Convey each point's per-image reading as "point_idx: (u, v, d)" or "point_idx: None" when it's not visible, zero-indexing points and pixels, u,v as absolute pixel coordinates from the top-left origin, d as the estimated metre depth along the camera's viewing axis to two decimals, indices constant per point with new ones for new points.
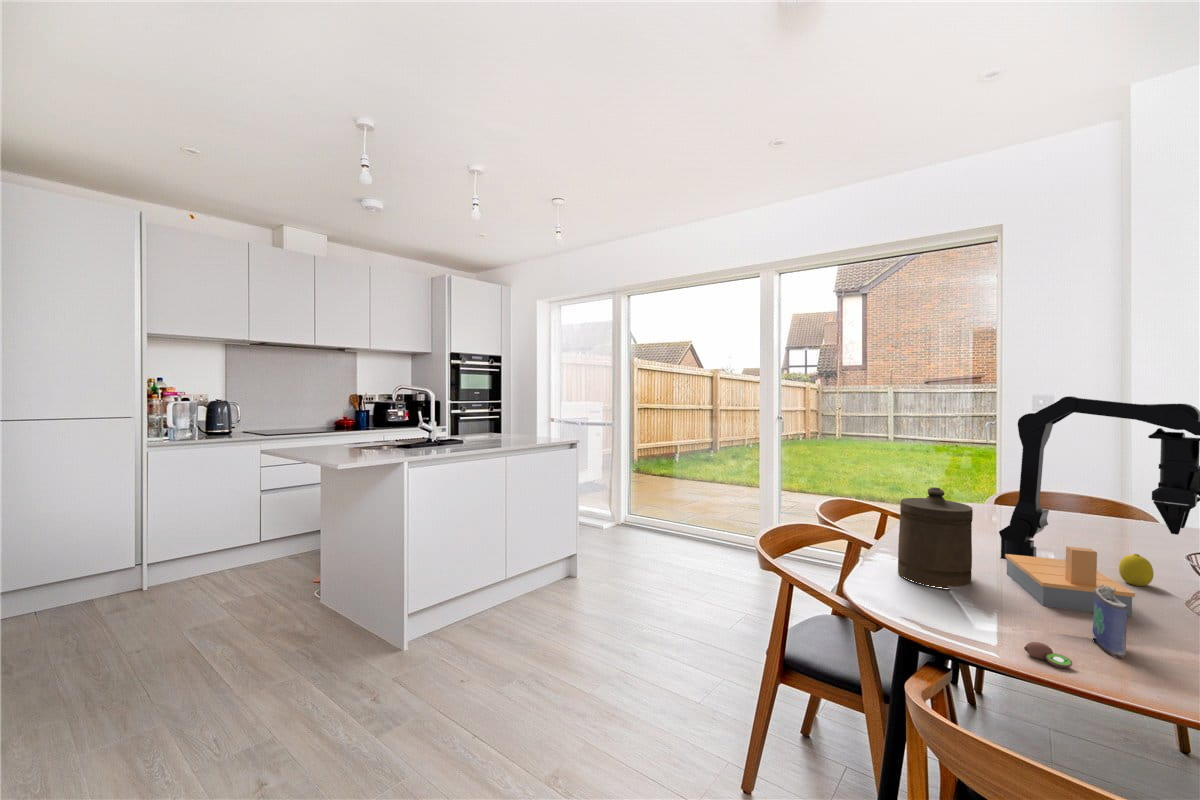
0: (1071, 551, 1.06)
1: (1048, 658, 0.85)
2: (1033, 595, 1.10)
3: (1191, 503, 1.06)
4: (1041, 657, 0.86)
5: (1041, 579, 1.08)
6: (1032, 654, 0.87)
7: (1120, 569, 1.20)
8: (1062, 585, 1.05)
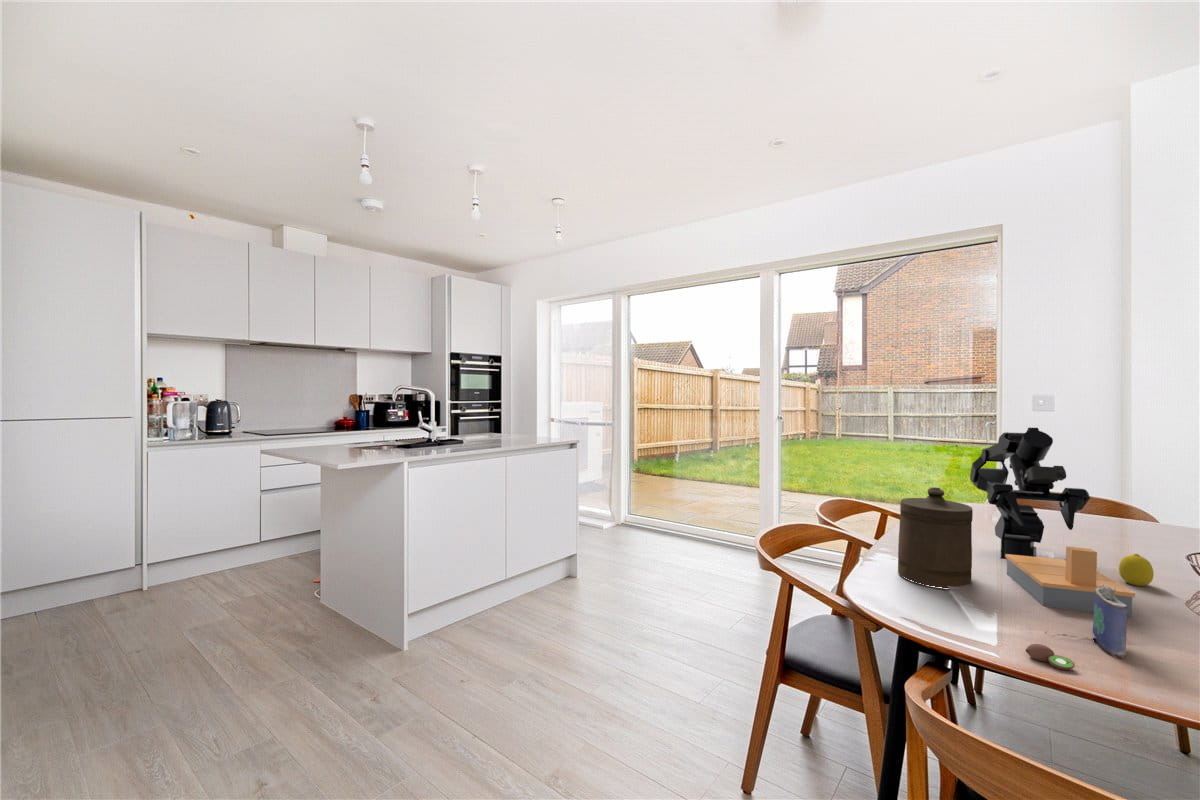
0: (1071, 551, 1.06)
1: (1050, 660, 0.84)
2: (1033, 595, 1.10)
3: (994, 490, 1.27)
4: (1043, 659, 0.85)
5: (1041, 579, 1.08)
6: (1034, 656, 0.86)
7: (1120, 569, 1.20)
8: (1062, 585, 1.05)
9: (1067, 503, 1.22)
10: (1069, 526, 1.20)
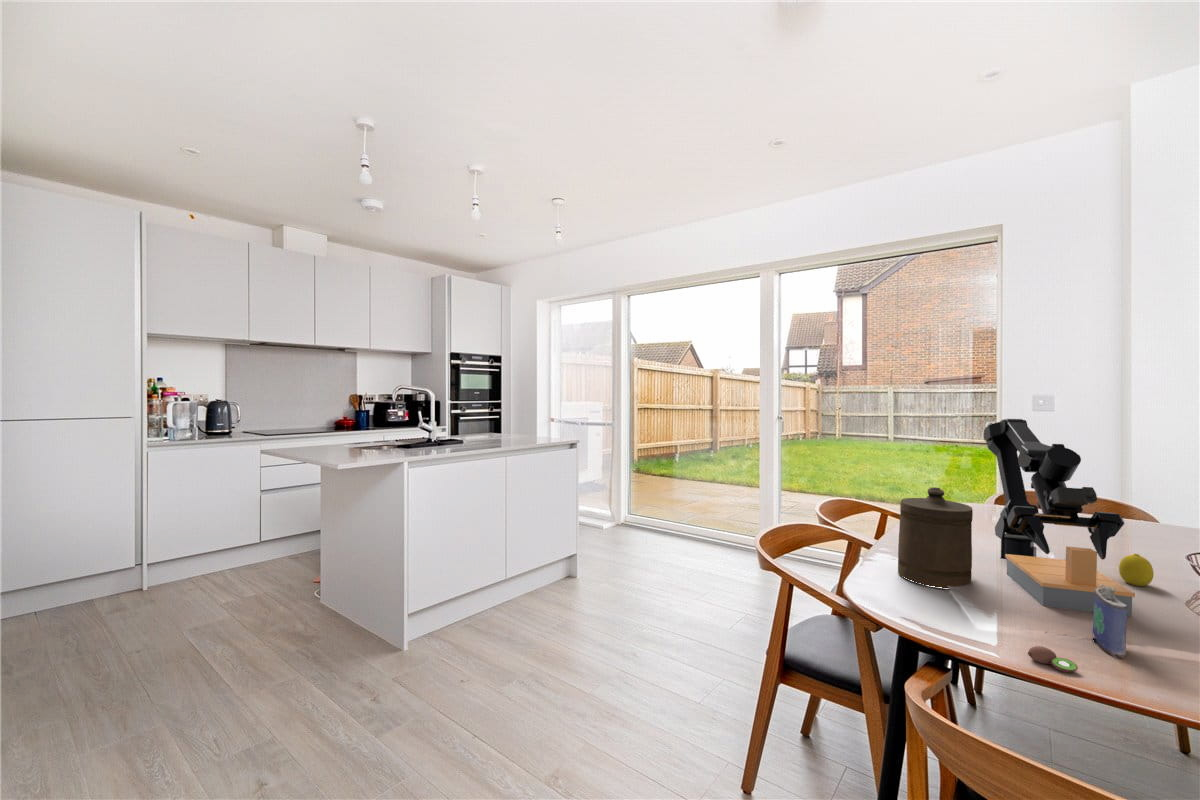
0: (1071, 551, 1.06)
1: (1054, 663, 0.83)
2: (1033, 595, 1.10)
3: (1015, 513, 1.15)
4: (1046, 662, 0.84)
5: (1041, 579, 1.08)
6: (1037, 659, 0.85)
7: (1120, 569, 1.20)
8: (1062, 585, 1.05)
9: (1098, 529, 1.09)
10: (1101, 555, 1.07)
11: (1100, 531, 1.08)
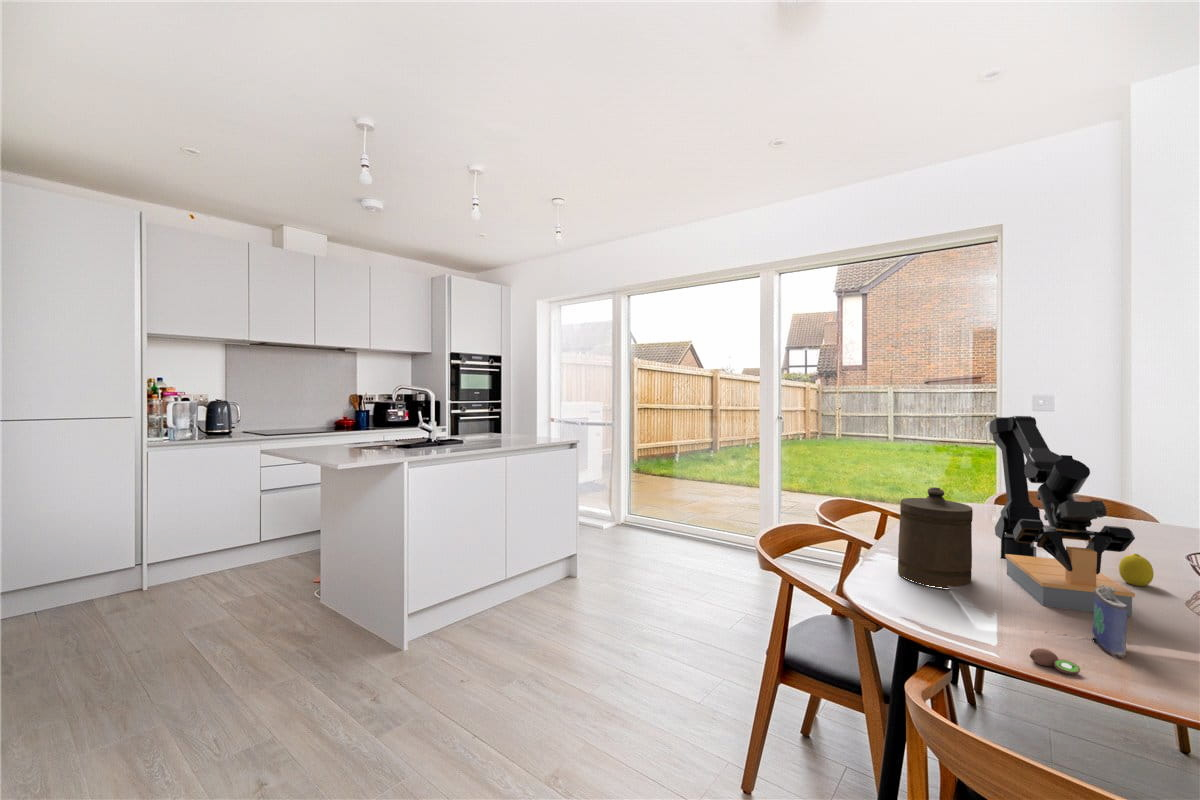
0: (1071, 551, 1.06)
1: (1057, 665, 0.82)
2: (1033, 595, 1.10)
3: (1021, 527, 1.11)
4: (1048, 664, 0.84)
5: (1041, 579, 1.08)
6: (1039, 662, 0.84)
7: (1120, 569, 1.20)
8: (1062, 585, 1.05)
9: (1093, 543, 1.06)
10: None
11: (1094, 545, 1.06)
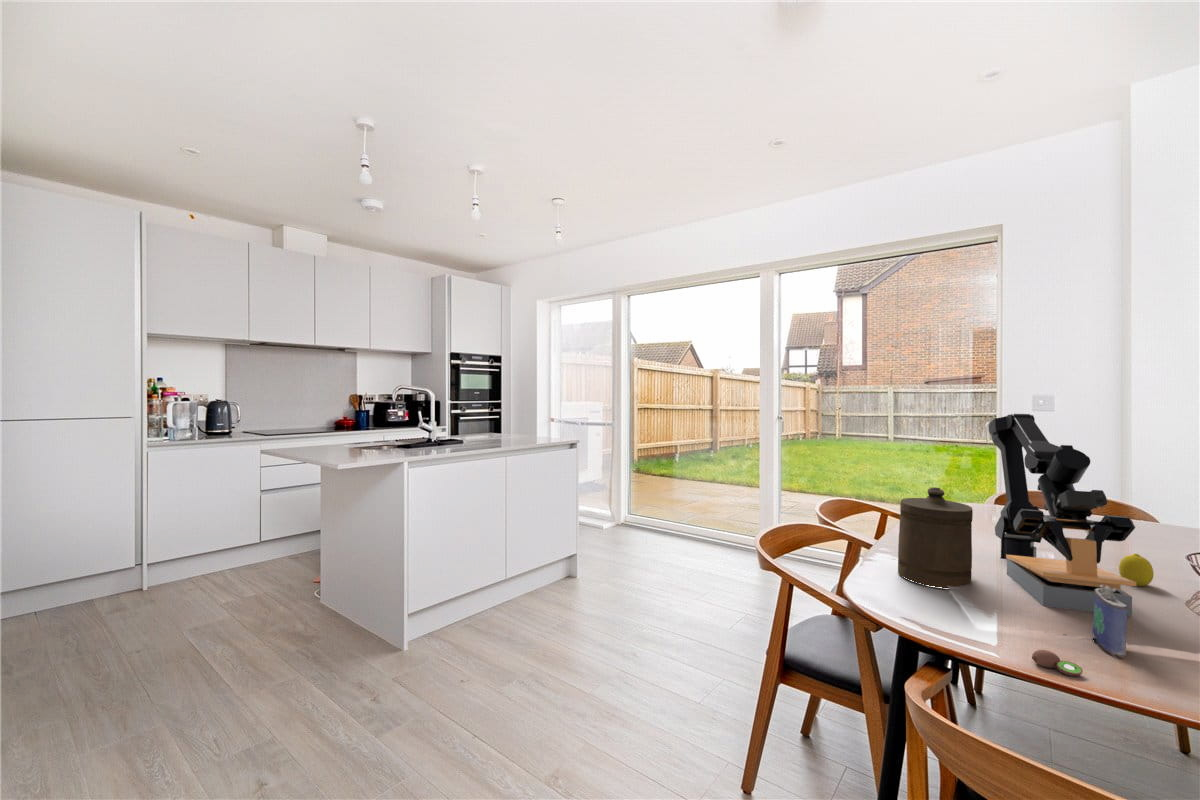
0: (1070, 541, 1.06)
1: (1060, 667, 0.82)
2: (1033, 595, 1.10)
3: (1022, 517, 1.11)
4: (1051, 666, 0.83)
5: (1042, 570, 1.07)
6: (1042, 664, 0.84)
7: (1120, 569, 1.20)
8: (1063, 574, 1.04)
9: (1093, 532, 1.06)
10: None
11: (1095, 534, 1.06)
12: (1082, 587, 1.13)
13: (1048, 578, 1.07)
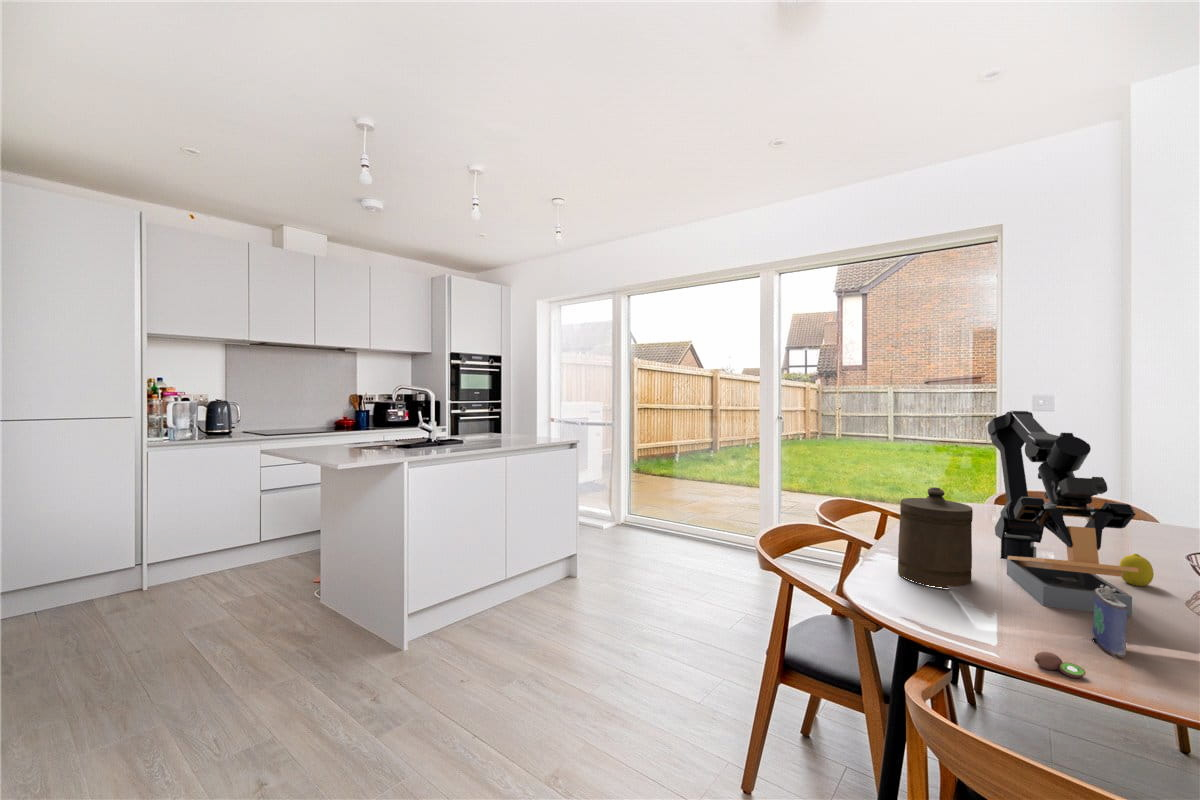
0: (1069, 528, 1.06)
1: (1063, 669, 0.81)
2: (1033, 595, 1.10)
3: (1022, 504, 1.11)
4: (1054, 668, 0.83)
5: (1043, 558, 1.07)
6: (1045, 666, 0.83)
7: None
8: (1065, 561, 1.04)
9: (1093, 519, 1.06)
10: None
11: (1095, 521, 1.06)
12: (1082, 587, 1.13)
13: (1050, 566, 1.06)
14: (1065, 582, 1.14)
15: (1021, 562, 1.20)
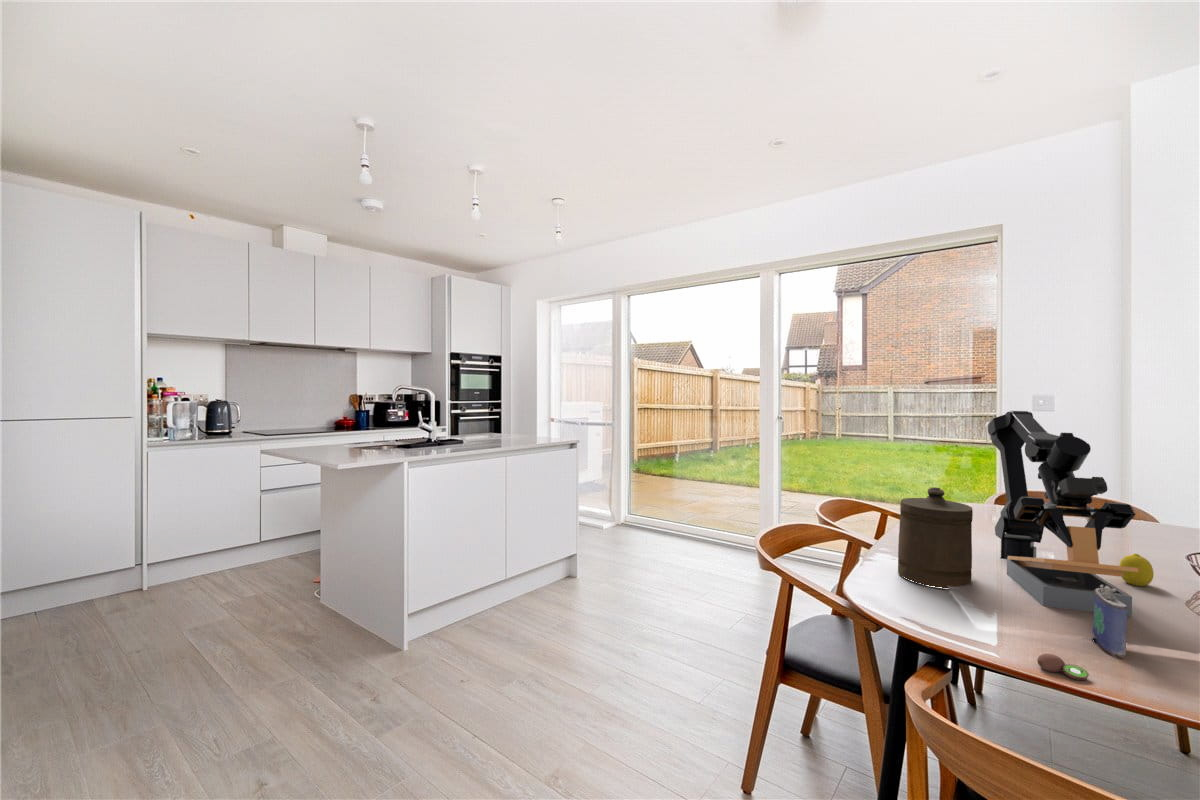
0: (1069, 528, 1.06)
1: (1067, 671, 0.81)
2: (1033, 595, 1.10)
3: (1022, 504, 1.11)
4: (1057, 670, 0.82)
5: (1043, 558, 1.07)
6: (1048, 668, 0.82)
7: None
8: (1065, 561, 1.04)
9: (1093, 519, 1.06)
10: None
11: (1095, 521, 1.06)
12: (1082, 587, 1.13)
13: (1050, 566, 1.06)
14: (1065, 582, 1.14)
15: (1021, 562, 1.20)
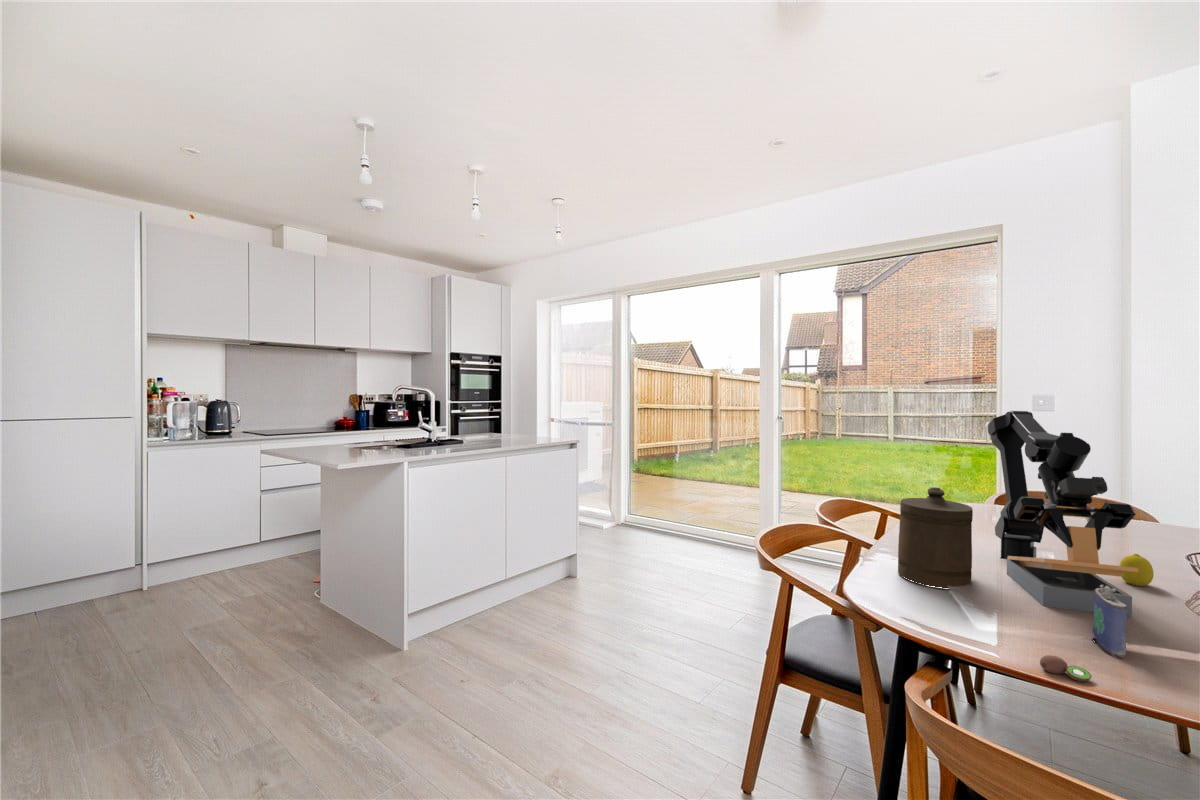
0: (1069, 528, 1.06)
1: (1070, 673, 0.80)
2: (1033, 595, 1.10)
3: (1022, 504, 1.11)
4: (1060, 672, 0.81)
5: (1043, 558, 1.07)
6: (1051, 670, 0.82)
7: None
8: (1065, 561, 1.04)
9: (1093, 519, 1.06)
10: None
11: (1095, 521, 1.06)
12: (1082, 587, 1.13)
13: (1050, 566, 1.06)
14: (1065, 582, 1.14)
15: (1021, 562, 1.20)
